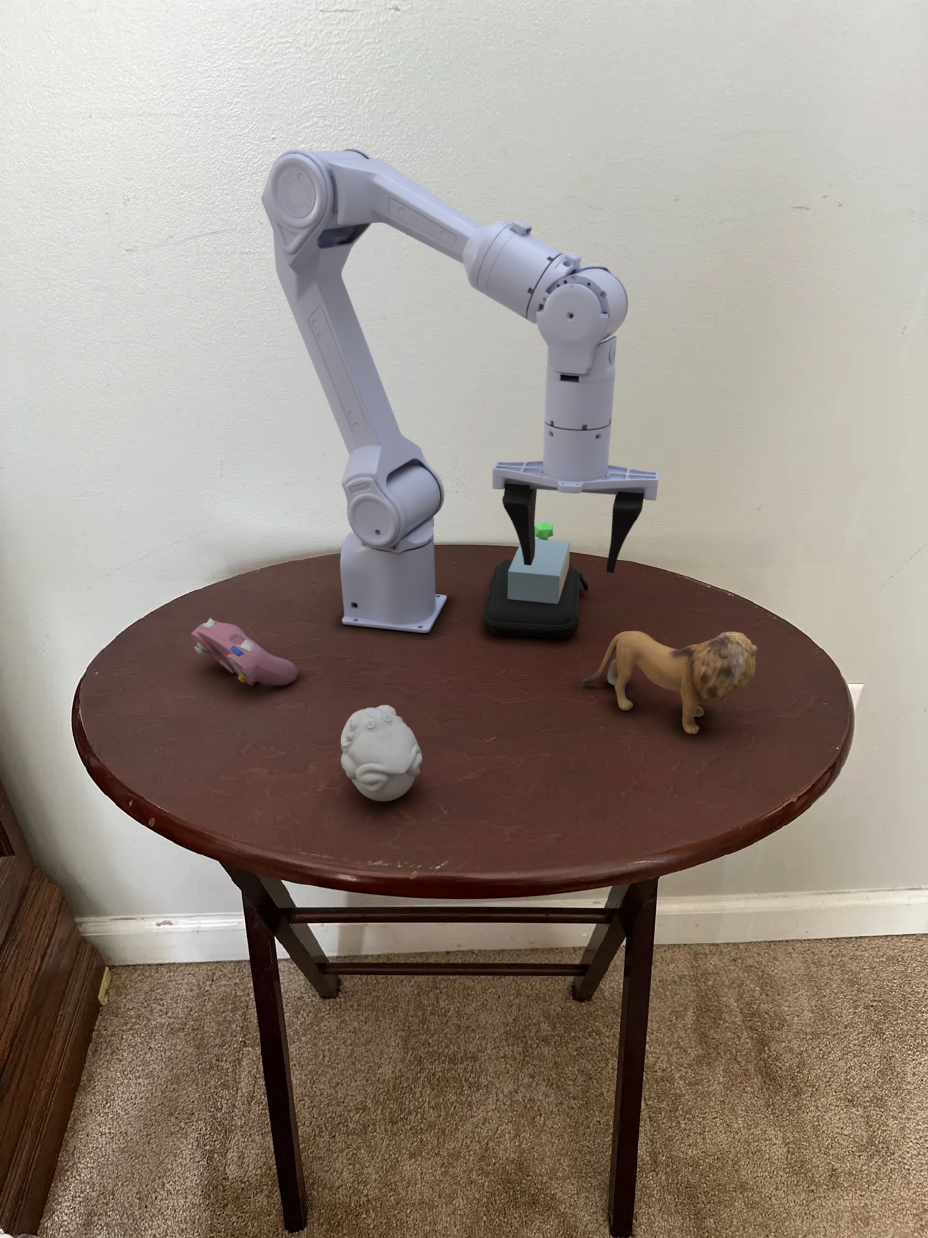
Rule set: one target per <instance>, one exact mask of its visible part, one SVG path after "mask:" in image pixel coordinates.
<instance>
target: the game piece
mask: <svg viewBox="0 0 928 1238" xmlns="http://www.w3.org/2000/svg"><path fill="white" fill-rule="evenodd" d="M553 536H554V527H553V524H551V523H548V522H546V521H542V522H541V523H538V524H535V538H538V540H549V538H550V537H553Z"/></svg>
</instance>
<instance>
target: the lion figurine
mask: <svg viewBox="0 0 928 1238" xmlns="http://www.w3.org/2000/svg"><path fill="white" fill-rule="evenodd" d="M757 651H758V648H757V646H756V645H755V644H752V640H751V639H749V638H747V636H746V635H745V634H744V633H743V632H737V631H726V632H721V633H720V635H717V636H715V638H711V639H709V640H705V641H704V642H701V643H698V644H697V643H696V644H695V643H694V644H690V645H687V646H686V647H683V648H680V649H677V648H673V647H670V646H667V645H664V644H662V643H660V642H658V641H656V640H655V639H654V638H653V637H651V636H650V635H648V634H647V633H645V632H644V631H643V632H642V631H640V630H631V631H630V630H627V631H622V632H620V633H618V634H617V635H615V636H614V637H613V639H612V640H611V641H610V643H609V645H608V647H607V649H606V652H605V653H604V657H603V659H602V661H601V663H600V664H601V665H600V666H599V668H598V669H597V671H596V672H595V673H594V674H592V675H589V676H587V677H586V678H584V679H583V680H582V681H581V682H582V683H583V684H586V685H592V684H593V683H595V682H596V681H597V680H599V678H600V677H601V676H602V675H603V673H604V672H605V671H606V669H607V666H608V665H609V668H608V671H607V675H606V679H607V682H608V683H609V684H610V685H611V686H614V691H615V693H616V699H617V704H618V707H619V709H620V710H622V711H627V712H628V711H630V710H631V709H633V706H634V703H633V702H632V701H631V700H629V699H628V698H627V697H626V691H625V690H626V686H627V684H628V682H629V681H630V680H631V678H632V676H633V674H634V672H635V670H636V669H639V670H640V671H642V673H643V674H644V676H646V677H647V679H649V680H650V681H651V682H652V683H653V684H655V685H657V686H658V687H660V688H661V689H664V690H668V691H671V692H676V693H679V695H680V697H681V701H682V720H681V722H682V727H683V730H684V732H685V733H686V734H689V735H695V734H697V733H699V729H700V727H699V725H697V724H696V721H695V717H696V718H701V717H702V716H704V714H705V711H704V708H703V707H701V706H699V704H700V701H702V702H708V701H710V702H715V703H719V702H721V701H723V700H724V699H725V698H726V697H727V696H728V695H729V694H733V693H735V692H736V691H738V690H740V689H744V687H745V686H747V685H748V684H749V682H750V681H751V680H752V679H753V677H754V675H755V674H756V655H757ZM614 653H615V659H613V660H612V661H611V659H612V657H613V655H614ZM610 661H611V662H610ZM609 663H610V664H609Z"/></svg>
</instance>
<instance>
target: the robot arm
mask: <svg viewBox="0 0 928 1238" xmlns="http://www.w3.org/2000/svg"><path fill="white" fill-rule="evenodd" d="M260 201H261V204H262V206H263V208H264V211H265V213H266V217H267V218H268V221H269V224H270V226H271V228H272V235H273V248H274V250H273V251H274V261H275V271H276V275H277V278H278V281H279V283H280V286H281V288H282V290H283V293H284V295H285V298H286V300H287V303H288V305H289V308H290V311H291V313H292V315H293V318H294V321H295V322H296V325H297V328H298V330H299V333H300V335H301V338H302V341H303V343H304V346H305V348H306V350H307V353H308V356H309V358H310V360H311V362H312V366H313V368H314V370H315V372H316V375H317V377H318V380H319V383H320V385H321V387H322V390H323V393H324V395H325V397H326V401H327V402H328V405H329V407H330V410H331V413H332V415H333V417H334V419H335V422H336V425H337V428H338V430H339V432H340V435H341V436H342V440H343V442H344V446H345V447H346V450H347V452H348V460H347V463H346V466H345V469H344V472H343V475H342V479H341V482H340V483H341V487H342V489H343V491H344V495H345V497H346V517H347V522H348V524H349V526H350V529H351V531H350V532H349V533H348V534H347V535H346V536H345V538H344V541H343V543H342V546H341V551H340V559H339V560H340V561H339V569H340V570H339V571H340V582H341V592H342V603H343V617H342V619H341V622H342V624H343V625H346V626H347V625H348V626H357V627H364V628H365V627H366V628H375V629H383V630H394V631H401V632H411V633H420V634H429V633H430V632H431V630H432V628H433V626H434V624H435V623H436V620H437V619H438V617H439V615H440V613H441V611H442V610H443V608H444V606H445V605H446V602H447V600H448V597H447V595H445V594H439V593H436V567H435V565H436V564H435V563H436V561H435V536H434V535H435V531H434V530H435V529H434V527H435V518H434V517H435V516H436V515H437V514H438V513H439V512H440V511H441V509H442V507H443V505H444V502H445V488H444V484H443V482H442V479H441V477H440V475H438V473H437V471H435V470H434V469H433V468H432V466H431V465H430V464H429V462H428V461H427V460H426V458H425V455H424V454H423V450H422V448H421V447H420V446H419V445H418V444H417V443H415V442H414V441H412V440H410V439H409V438H407V437H406V436H404V435H403V434H402V432H401V430H400V427H399V424H398V421H397V419H396V417H395V413H394V411H393V409H392V406H391V403H390V401H389V397H388V395H387V392H386V390H385V387H384V386H383V382H382V379H381V377H380V374H379V371H378V369H377V366H376V364H375V363H376V362H375V361H374V358H373V355H372V353H371V349H370V348H369V345H368V342H367V339H366V337H365V334H364V332H363V329H362V327H361V324H360V321H359V319H358V317H357V313H356V311H355V309H354V306H353V303H352V301H351V298H350V295H349V292H348V289H347V287H346V284H345V282H344V279H343V276H342V272H343V270H344V267H345V265H346V262H347V260H348V258H349V256H350V253H351V251H352V248H353V247H354V246H355V245H356V244H357V242H358V241H359V240H360V239H361V238H362V236H363V235H364V234H365V232H367V230H369V228H370V227H371V225H372V224H378V223H381V224H386V225H387V226H389V227H390V228H391V227H392V228H393V229H395V230H397V231H400V232H401V233H403V234H405V235H407V236H409V237H410V238H412V239H414V240H416V241H418V242H420V243H422V244H424V245H426V246H428V247H430V248H432V249H434V250H436V251H437V252H439V253H441V254H443V255H445V256H447V257H449V258H451V259H453V260H454V261H457V262H458V263H460V264H462V265H463V266H464V270H465V273H466V276H467V277H466V278H467V280H468V283H469V285H470V286H471V287H472V288H473V289H475V290H476V291H478V292H480V293H481V294H483V295H485V296H487V297H488V298H490V299H492V300H493V301H495V302H497V303H498V304H500V305H502V306H503V307H505V308H507V309H509V310H510V311H512V312H514V313H515V314H517V315H518V316H520V317H522V318H524V319H525V320H527V321H528V322H530V323H532V324H535V325H536V326H537V329H538V330H539V333H540V336H541V337H542V339H543V340H544V342H545V343H546V345H547V353H546V354H547V356H546V357H547V358H546V368H545V369H546V370H545V373H546V374H545V396H544V397H545V398H544V421H543V422H544V423H543V447H542V448H543V449H542V450H543V451H542V460H532V461H531V460H530V461H497V462H495V464H494V466H493V467H492V489H493V490H504V491H503V496H502V498H501V501H502V506H503V508H504V510H505V512H506V513H507V515H508V517H509V519H510V521H511V523H512V525H513V527H514V530H515V532H516V535H517V538H518V541H519V545H521V549H522V554H523V560H524V565H531V564H532V562H533V559H534V556H535V539H536V537H535V526H536V524H535V523H536V522H535V518H536V506H537V493H538V490H542V491H544V490H545V491H555V492H559V493H563V494H564V493H565V494H581V493H582V494H583V493H585V494H596V495H597V494H598V495H613V496H615V497H614V500H613V503H612V512H611V513H612V516H611V534H610V537H611V538H610V544H609V551H608V555H607V561H606V573H610V574H614V573H615V571H616V566H617V561H618V558H619V555H620V552H621V550H622V547H623V545H624V544H625V543H624V542H625V540H626V538H627V536H628V535H629V533H630V531H631V530H632V528H633V527H634V524H635V523H636V521H637V520H638V518H639V516H640V515H641V513H642V511H643V505H644V500H645V501H657V496H658V485H659V477H660V472H657V471H649V470H641V469H635V468H629V467H625V466H619V465H614V464H609V459H610V447H611V432H612V431H611V430H612V421H613V406H614V392H615V381H616V352H617V338H618V337H617V336H616V335H614V334H615V333H616V332H617V331H618V330H619V329H620V327H621V326H622V325H623V323H624V321H625V319H626V316H627V314H628V308H629V298H628V293H627V290H626V287H625V285H624V284H623V282H622V281H621V279H620V278H619V277H618V276H617V275H615V274H614V273H612V272H611V271H610V269H609V267H608V266H605V265H601V264H594V265H593V264H592V265H587V266H584V267H582V266H581V264H580V263H581V262H582V256H580V255H579V254H577V253H575V252H573V251H570V252H567V253H566V254H565V253H563V252H561V251H559V250H558V249H556V248H554V247H553V246H551V245H549V244H548V243H546V242H544V241H542V240H540V239H539V238H537V237H535V236H534V235H532V234H531V232H532V231H533V226H532V225H531V224H530V223H528V222H526V221H524V220H522V219H515V220H512V222H511V223H510V222H509V221H507V220H505V219H502V220H497V221H494V222H493V223H490V224H488V225H486V226H485V225H482V224H481V223H479V222H478V221H476V220H474V219H473V218H472V217H470V216H468V215H467V214H466V213H464V212H462V211H461V210H459V209H458V208H457V207H454V206H453V205H451V204H450V203H448V202H447V201H446V200H444V199H442V198H441V197H440V196H437V194H435V193H433V192H432V191H430V190H429V189H428V188H426V187H424V186H422V185H421V184H419V183H418V182H416V181H414V180H413V179H412V178H410V177H409V176H407V175H406V174H404V173H402V172H401V171H399V170H398V169H397V168H395V166H393V165H392V164H391V163H389V162H388V161H385V160H382V159H379V158H373V157H372V155H370V154H369V153H367V152H365V151H364V150H361V149H358V148H346V149H343V150H313V151H312V150H311V151H308V150H305V149H299V148H296V149H290V150H287V151H285V152H282V153H281V154H280V155H279V156H277V158H276V159H275V161H274V162H273V164H272V165H271V168H270V170H269V173H268V176H267V178H266V183H265V185H264V189H263V191H262V194H261V197H260Z"/></svg>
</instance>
